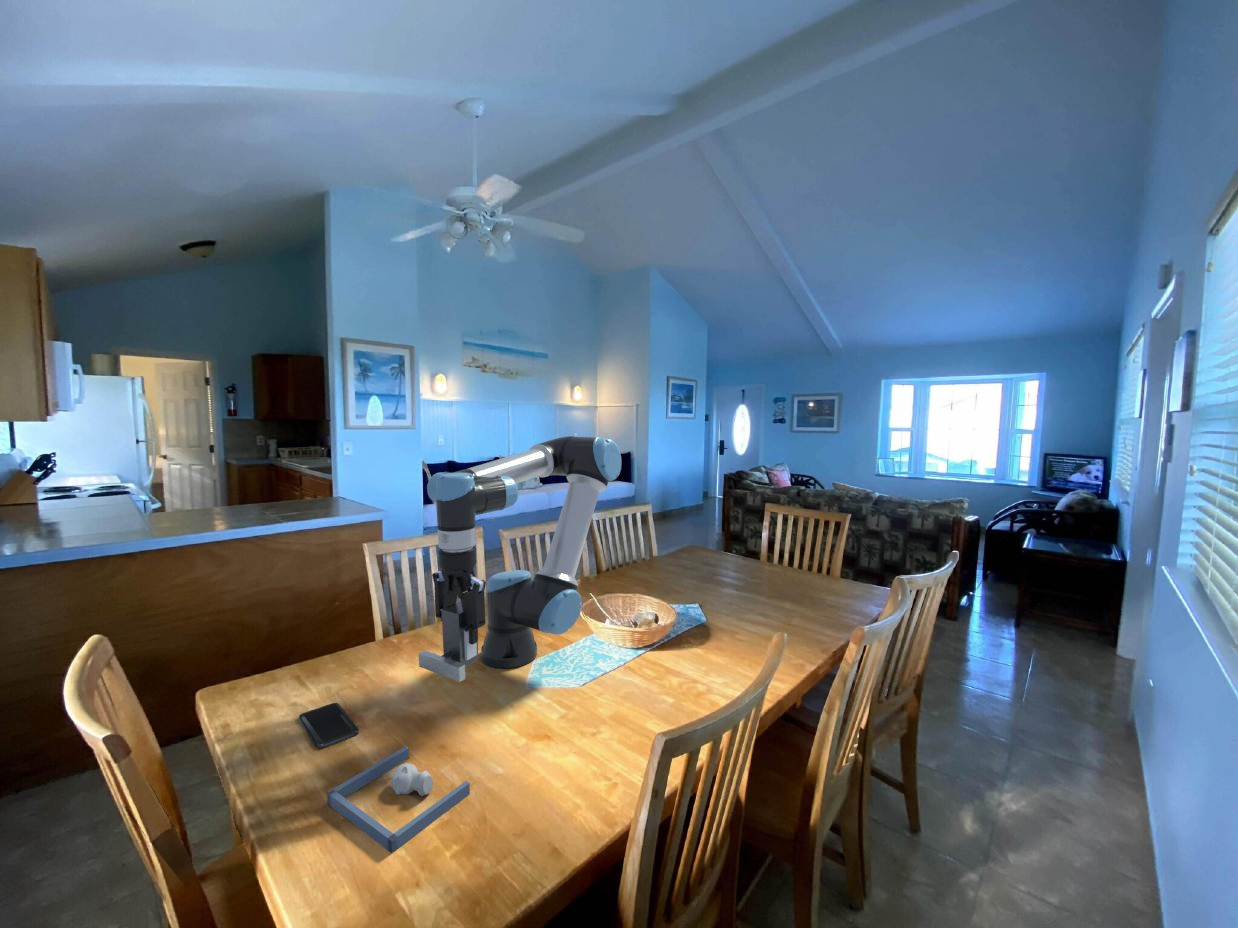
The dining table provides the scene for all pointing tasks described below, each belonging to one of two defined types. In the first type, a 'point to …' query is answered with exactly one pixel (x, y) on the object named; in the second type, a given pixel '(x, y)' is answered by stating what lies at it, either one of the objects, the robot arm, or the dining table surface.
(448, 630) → the grey block with bar
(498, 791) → the dining table surface
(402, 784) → the pale two-lobed sculpture
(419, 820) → the frame
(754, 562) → the dining table surface
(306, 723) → the phone
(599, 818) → the dining table surface
